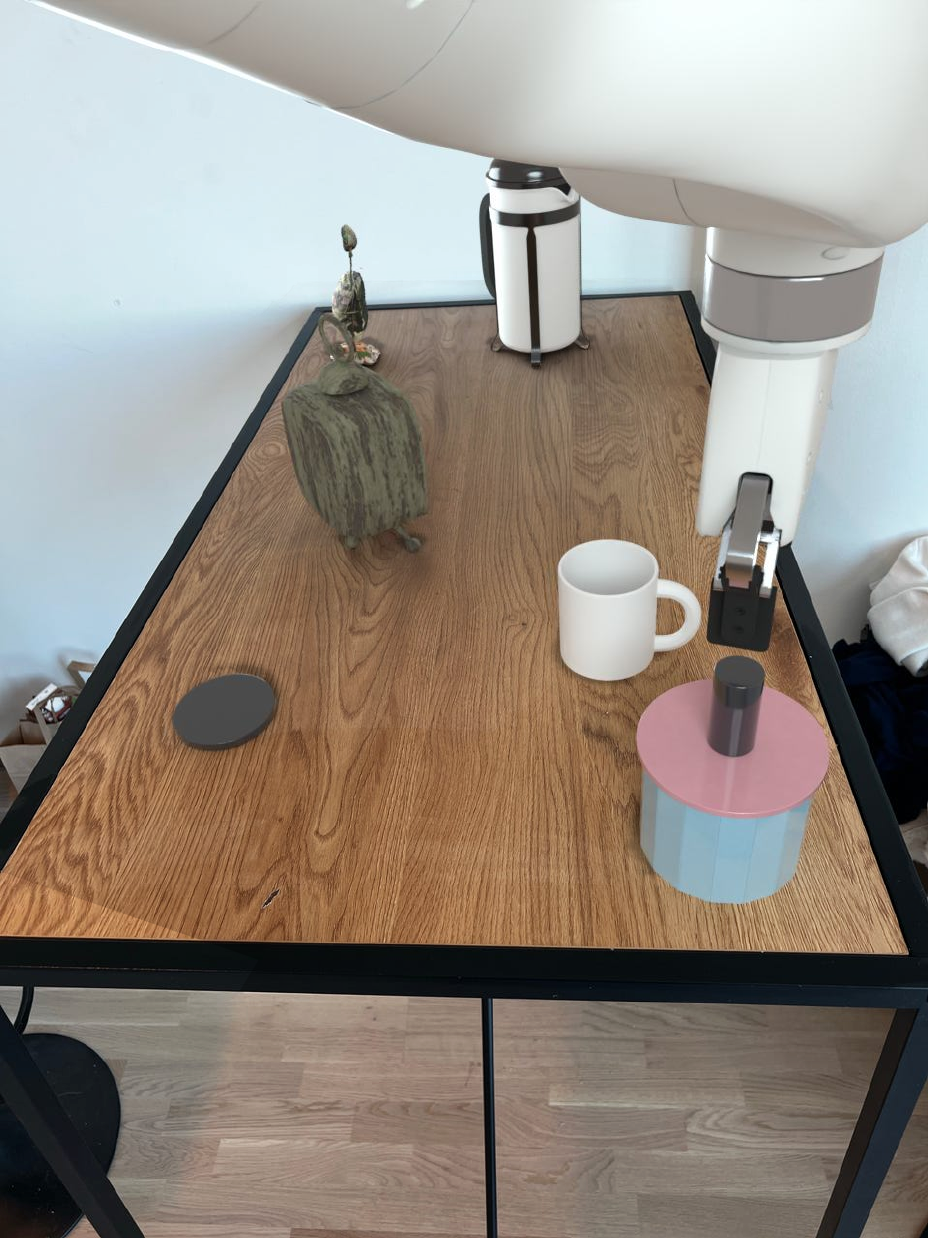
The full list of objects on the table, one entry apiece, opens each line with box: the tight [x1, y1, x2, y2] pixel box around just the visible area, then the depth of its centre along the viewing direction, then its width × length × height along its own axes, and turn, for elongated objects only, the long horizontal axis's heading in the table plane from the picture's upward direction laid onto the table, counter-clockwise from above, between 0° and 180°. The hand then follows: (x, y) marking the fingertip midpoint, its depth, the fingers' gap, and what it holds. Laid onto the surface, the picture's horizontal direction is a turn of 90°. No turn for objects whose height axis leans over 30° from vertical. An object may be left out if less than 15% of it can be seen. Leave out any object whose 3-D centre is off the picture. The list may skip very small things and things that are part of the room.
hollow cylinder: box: [639, 765, 816, 905], centre depth 64 cm, size 11×11×10 cm
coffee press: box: [478, 158, 591, 368], centre depth 132 cm, size 17×16×30 cm
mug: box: [557, 538, 702, 682], centre depth 80 cm, size 12×8×10 cm
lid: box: [635, 654, 831, 819], centre depth 59 cm, size 12×12×7 cm
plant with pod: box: [329, 223, 381, 366], centre depth 138 cm, size 8×11×20 cm
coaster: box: [172, 673, 278, 752], centre depth 83 cm, size 9×9×1 cm
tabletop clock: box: [280, 313, 430, 554], centre depth 95 cm, size 14×9×25 cm, turn 33°
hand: (751, 590), depth 53 cm, fingers open, 9 cm apart
